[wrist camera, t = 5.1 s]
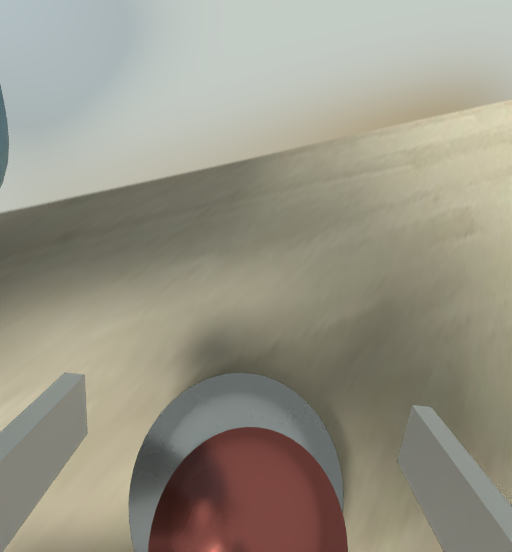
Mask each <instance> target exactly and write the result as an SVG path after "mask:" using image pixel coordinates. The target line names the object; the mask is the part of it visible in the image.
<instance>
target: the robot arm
mask: <svg viewBox="0 0 512 552" xmlns="http://www.w3.org/2000/svg"><path fill="white" fill-rule="evenodd" d="M8 149H9V137H8V125H7V118H6V111H5V105H4V100H3V95H2V90H1V86H0V187H1V185H2V182H3V179H4V176H5V172H6V167H7V163H8ZM87 433H88V432H87V412H86V392H85V375H83V374H72V373H64V374H63V375H62V376H61V377H60V378H59V379H58V380H57V381H55V382H54V383H53V384H52V385H51V386H50V387H49V388H48V389H47V390H46V391H45V392H43V393H42V394H41V395H40V396H39V397H38V398H37V399H36V400H35V401H34V402H33V403H32V404H30V405H29V406H28V407H27V408H26V409H25V410H24V411H23V412H22V413H21V414H20V415H19V416H17V417H16V418H15V419H14V420H13V421H12V422H11V423H10V424H9V425H8V426H7V427H5V428H4V429H3V430H2V431H1V432H0V552H3V551H4V549H5V548H6V547H7V545H8V544H9V542H10V541H11V540H12V538H13V537H14V535H15V534H16V533H17V531H18V530H19V528H20V527H21V526H22V524H23V523H24V521H25V520H26V519H27V517H28V516H29V514H30V513H31V512H32V510H33V509H34V507H35V506H36V505H37V503H38V502H39V500H40V499H41V498H42V496H43V495H44V493H45V492H46V491H47V489H48V488H49V486H50V485H51V484H52V482H53V481H54V480H55V478H56V477H57V475H58V474H59V473H60V471H61V470H62V468H63V467H64V466H65V464H66V463H67V461H68V460H69V459H70V457H71V456H72V454H73V453H74V452H75V450H76V449H77V447H78V446H79V445H80V443H81V442H82V440H83V439H84V438H85V436H86V435H87ZM397 462H398V464H399V466H400V468H401V470H402V472H403V474H404V476H405V478H406V480H407V482H408V484H409V485H410V487H411V489H412V491H413V493H414V495H415V497H416V499H417V501H418V503H419V505H420V507H421V509H422V511H423V512H424V514H425V516H426V518H427V520H428V522H429V524H430V526H431V528H432V530H433V532H434V534H435V536H436V538H437V539H438V541H439V543H440V545H441V547H442V549H443V551H444V552H512V506H511V505H510V503H509V502H508V501H507V500H506V499H505V497H504V496H503V495H502V494H501V492H500V491H499V490H498V489H497V487H496V486H495V485H494V484H493V483H492V481H491V480H490V479H489V478H488V476H487V475H486V474H485V473H484V471H483V470H482V469H481V468H480V467H479V465H478V464H477V463H476V462H475V460H474V459H473V458H472V457H471V455H470V454H469V453H468V452H467V451H466V449H465V448H464V447H463V446H462V444H461V443H460V442H459V441H458V439H457V438H456V437H455V436H454V435H453V433H452V432H451V431H450V430H449V428H448V427H447V426H446V425H445V423H444V422H443V421H442V420H441V419H440V417H439V416H438V415H437V414H436V412H435V411H434V410H433V409H432V407H428V406H417V405H412V407H411V411H410V414H409V418H408V422H407V425H406V429H405V433H404V436H403V440H402V444H401V447H400V451H399V455H398V458H397Z"/></svg>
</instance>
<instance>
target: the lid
mask: <svg viewBox="0 0 512 552" xmlns="http://www.w3.org/2000/svg"><path fill="white" fill-rule="evenodd" d="M129 524H130V531H131V539H132V542H133V546H134V550H135V552H348V546H347V535H346V528H345V522H344V517H343V482H342V474H341V469H340V464H339V460H338V456H337V453H336V450H335V447H334V444H333V442H332V440H331V437H330V435H329V433H328V431H327V429H326V427H325V426H324V424H323V422H322V420H321V419H320V418H319V416H318V415H317V414H316V412H315V411H314V409H313V408H312V407H311V406H310V405H309V404H308V403H307V402H306V401H305V400H304V399H303V398H302V397H301V396H300V395H298V394H297V393H296V392H295V391H293V390H292V389H290V388H289V387H287V386H286V385H284V384H282V383H280V382H278V381H276V380H274V379H271V378H268V377H265V376H262V375H257V374H252V373H229V374H223V375H218V376H214V377H211V378H209V379H206V380H203V381H201V382H199V383H197V384H195V385H193V386H192V387H190V388H189V389H187V390H186V391H184V392H183V393H181V394H180V395H179V396H178V397H177V398H175V399H174V400H173V401H172V402H171V403H170V404H169V405H168V406H167V407H166V408H165V409H164V410H163V412H162V413H161V414H160V415H159V417H158V418H157V419H156V421H155V422H154V424H153V425H152V427H151V428H150V430H149V432H148V434H147V435H146V437H145V439H144V441H143V444H142V446H141V448H140V451H139V453H138V456H137V459H136V462H135V466H134V469H133V474H132V479H131V484H130V493H129Z"/></svg>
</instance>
